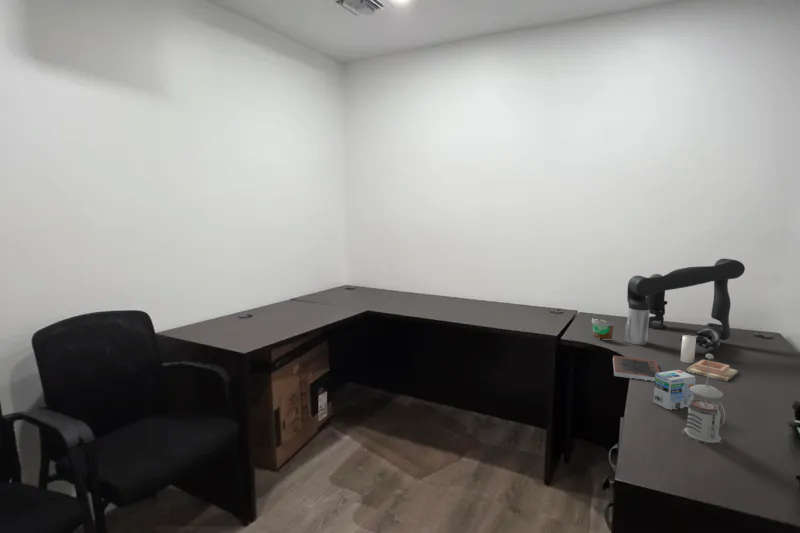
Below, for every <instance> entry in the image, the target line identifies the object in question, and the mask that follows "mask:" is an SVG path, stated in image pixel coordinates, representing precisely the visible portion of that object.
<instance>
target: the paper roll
mask: <svg viewBox="0 0 800 533" xmlns="http://www.w3.org/2000/svg"><path fill="white" fill-rule="evenodd" d="M683 335H684V336H683ZM683 335H681V336H682V342H681V349H680V362H681V361H682V362H681V363H684V362H685V364H694V363H695V354H696V346H697V344H696V337H693V336H694V335H689V334H687V335H685V334H683Z"/></svg>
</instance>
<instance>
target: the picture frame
mask: <svg viewBox="0 0 800 533" xmlns="http://www.w3.org/2000/svg"><path fill="white" fill-rule="evenodd" d="M612 364H613V376H614V377H620V378H626V379H632V378H635V379H634V380H639V379H642V380H641V381H647V380H651V381H650V382H654V381H655V376H656V373H659V372H660V371H661V370H660V368H659V366H658V364H657V360H651V359H643V358H636V357H627V356H621V355H620V356H619V355H613V356H612ZM643 379H644V380H643Z"/></svg>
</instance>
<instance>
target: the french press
mask: <svg viewBox="0 0 800 533" xmlns="http://www.w3.org/2000/svg"><path fill="white" fill-rule="evenodd" d="M705 358H706V359H708V371H709V361H711V360H713V359H714V355H713V354H712V353H706V354H705ZM708 381H709V377H708V372H707V377H706V383H705V384H695V385H694V386H691V387H690V391H691V392H692V393H694V395H697V396H699V397H703V398H704V399H701V398H699V399H698V398H695V399H694V398H693V400H691V401H690V402H691V404H690V405H689V407H688V409H687V413H688V414H687V420H686V421H687V423H686V427H684V428H683V429H684V431H685V432H686V433H687V434H688V435H689V436H691V437H693V438H695V439H698V440H703V441H706V442H719V441H720V440H721V438H722V437H721V436H720V435H719V433H720V432H719V431H720V427H722V426H723V425H724V424H725V422H726V421H725V420H726V411H725V408H724V406H723V405H722V404H723V403H721V401H718V402H717V403H716V402H714V401H710V400H707V399H720V398H721V397H723V396H724V393H723V392H722V391H721V390H720V389H717V388H716V387H714V386H712V385H708ZM719 404H720V405H719ZM720 406H721V407H722V410H723V421H722V423H721V415H722V414H721V413H722V412H721V411H720V409H721V408H720ZM704 412H705V413H704ZM706 413H707V414H706ZM708 413H709V414H708Z"/></svg>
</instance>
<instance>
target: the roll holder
mask: <svg viewBox="0 0 800 533" xmlns="http://www.w3.org/2000/svg"><path fill="white" fill-rule="evenodd" d="M708 361H709V359H703V358H702V359H701V360H697V361H695V362H694V363H692V364H691V365H690V366H688V367H687V368H686V369H685V372H686V371H688V372H687V373H690V372H692V373H691V374H694V373H696V374H695V375H698V374H699V376H702V375H703V377H706V376H707V372H708V378H710V377H711V378H710V379H714V378H715V380H718V379H719V381H722V380H723V381H722V382H726V381H727V382H729V381H730V380H732V378H733V377H734V375H735V374H736V375H737V374H738V372H739V371H738V370H737V369H734V368H730V365H729V364H726V363H722V362H716V361H712V360H710V361H709V371H708ZM736 375H735V376H736ZM729 379H730V380H729ZM728 380H729V381H728Z"/></svg>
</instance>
